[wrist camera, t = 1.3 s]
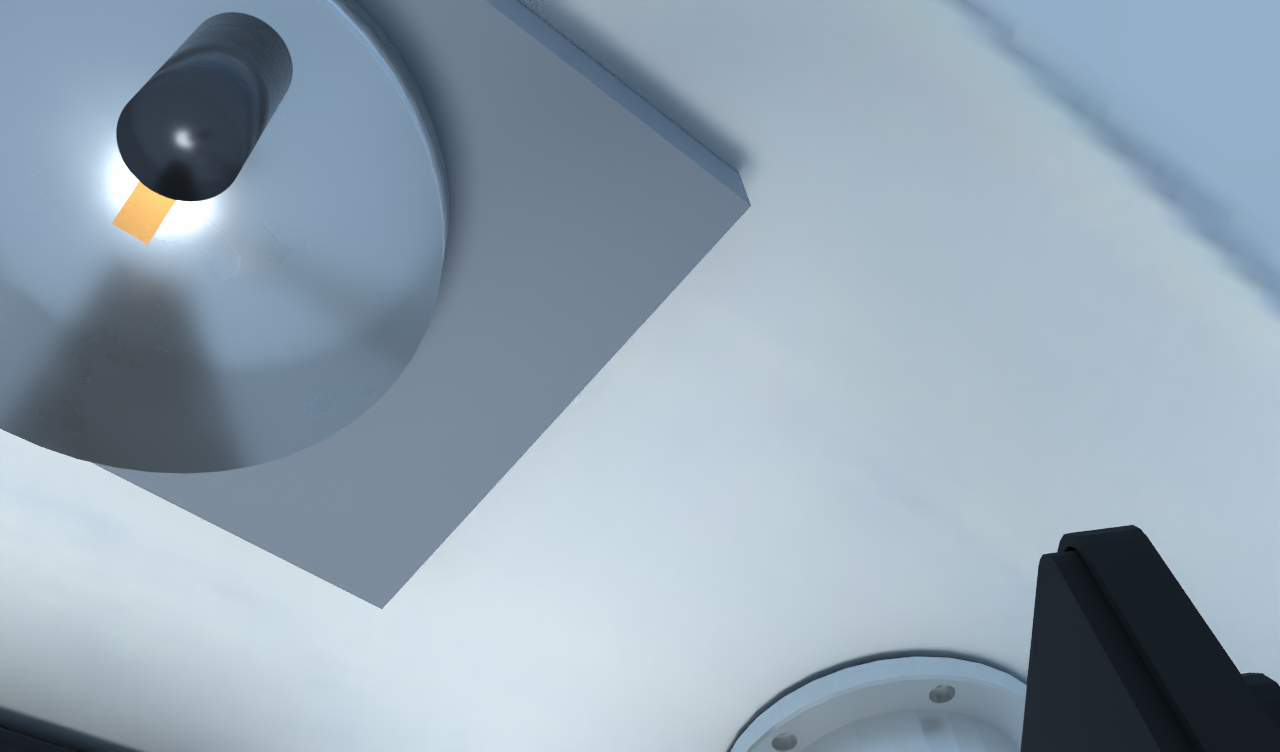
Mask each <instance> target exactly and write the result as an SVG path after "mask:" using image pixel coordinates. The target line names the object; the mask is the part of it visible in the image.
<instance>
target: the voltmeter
mask: <svg viewBox="0 0 1280 752" xmlns="http://www.w3.org/2000/svg"><path fill="white" fill-rule="evenodd" d="M0 752H77V751H74V750H71V749H67V748H64V747H61V746H58V745H55V744H51V743H48V742H45V741H42V740H39V739H35V738H32V737H29V736H26V735H22V734H19V733H16V732H13V731H10V730H6V729H3V728H0Z"/></svg>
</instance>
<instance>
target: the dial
mask: <svg viewBox="0 0 1280 752" xmlns="http://www.w3.org/2000/svg"><path fill="white" fill-rule="evenodd" d="M448 222H449V193H448V185H447V177H446V170H445V162H444V158H443V154H442V150H441V147H440V143H439V139H438V136H437V132H436V128H435V125H434V122H433V120H432V118H431V115H430V113H429V110H428V108H427V106H426V103H425V101H424V98H423V96H422V94H421V91H420V89H419V87H418V86H417V84H416V82H415V80H414V79H413V77H412V75H411V73H410V72H409V70H408V68H407V66H406V65H405V63H404V61H403V59H402V58H401V56H400V54H399V53H398V52H397V50H396V49H395V48H394V46H393V45H392V44H391V42H390V41H389V40H388V38H387V37H386V36H385V34H384V33H383V32H382V30H381V29H380V28H379V26H378V25H377V24H376V22H375V21H374V20H373V19H372V18H371V17H370V16H369V15H368V14H367V13H366V12H365V11H364V9H363V8H362V7H361V6H360V5H359V4H358V3H357V2H356V1H355V0H0V428H1V429H2V430H5V431H7V432H9V433H11V434H14V435H16V436H18V437H20V438H23V439H25V440H27V441H29V442H32V443H34V444H36V445H38V446H41V447H44V448H47V449H50V450H53V451H56V452H59V453H62V454H65V455H68V456H71V457H73V458H76V459H81V460H85V461H89V462H93V463H98V464H102V465H106V466H110V467H115V468H123V469H130V470H137V471H145V472H155V473H182V474H190V473H205V472H220V471H228V470H233V469H239V468H245V467H250V466H256V465H260V464H263V463H267V462H270V461H273V460H277V459H280V458H284V457H287V456H290V455H292V454H295V453H297V452H299V451H302V450H304V449H306V448H309V447H311V446H313V445H316V444H318V443H320V442H322V441H323V440H325V439H327V438H329V437H330V436H332V435H334V434H335V433H337V432H339V431H340V430H342V429H344V428H345V427H347V426H348V425H350V424H351V423H352V422H354V421H355V420H356V419H357V418H359V417H360V416H361V415H362V414H364V413H365V412H366V411H367V410H369V409H370V408H371V407H372V406H374V404H375V403H376V402H377V401H378V400H379V399H380V398H381V397H382V396H383V395H384V394H385V393H386V392H387V391H388V390H389V389H390V388H391V387H392V386H393V384H394V383H395V382H396V381H397V379H398V378H399V376H400V375H401V374H402V372H403V371H404V369H405V368H406V366H407V365H408V364H409V362H410V361H411V359H412V358H413V356H414V354H415V352H416V350H417V348H418V346H419V344H420V342H421V340H422V338H423V336H424V334H425V332H426V330H427V328H428V325H429V321H430V318H431V315H432V312H433V309H434V306H435V303H436V300H437V296H438V290H439V284H440V278H441V272H442V266H443V260H444V254H445V248H446V241H447V235H448Z"/></svg>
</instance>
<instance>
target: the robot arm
mask: <svg viewBox="0 0 1280 752" xmlns="http://www.w3.org/2000/svg"><path fill="white" fill-rule="evenodd" d="M730 752H1280V686H1279V685H1278V684H1277V683H1276V682H1275V681H1273V680H1272V679H1270V678H1269V677H1267V676H1265V675H1264V674H1262V673H1245V674H1240V672H1239V671H1238V669H1237V668H1236V666H1235V665H1234V663H1233V662H1232V660H1231V659H1230V657H1229V656H1228V655H1227V653H1226V652H1225V650H1224V649H1223V647H1222V646H1221V644H1220V643H1219V641H1218V640H1217V638H1216V637H1215V635H1214V634H1213V633H1212V631H1211V630H1210V628H1209V627H1208V625H1207V624H1206V622H1205V621H1204V619H1203V618H1202V616H1201V615H1200V613H1199V612H1198V611H1197V609H1196V608H1195V606H1194V605H1193V603H1192V602H1191V600H1190V599H1189V597H1188V596H1187V594H1186V593H1185V591H1184V590H1183V589H1182V587H1181V586H1180V584H1179V583H1178V581H1177V580H1176V578H1175V577H1174V575H1173V574H1172V572H1171V571H1170V570H1169V568H1168V567H1167V565H1166V564H1165V562H1164V561H1163V559H1162V558H1161V556H1160V555H1159V553H1158V552H1157V550H1156V549H1155V548H1154V546H1153V545H1152V543H1151V542H1150V540H1149V539H1148V537H1147V536H1146V535H1145V534H1144V533H1143V532H1142V530H1141V529H1140V528H1138V527H1136V526H1134V525H1129V526H1121V527H1114V528H1106V529H1098V530H1091V531H1083V532H1075V533H1068V534H1065V535H1063V537H1062V538H1061V540H1060V543H1059V548H1058V553H1050V554H1044V555H1042V557H1041V559H1040V562H1039V567H1038V577H1037V587H1036V598H1035V608H1034V618H1033V628H1032V638H1031V649H1030V659H1029V669H1028V679H1027V685H1026V684H1024V683H1022V682H1021V681H1019V680H1018V679H1016V678H1015V677H1013V676H1011V675H1010V674H1008V673H1005V672H1002V671H1000V670H997V669H994V668H992V667H989V666H986V665H984V664H981V663H975V662H970V661H965V660H959V659H954V658H944V657H915V656H914V657H905V658H895V659H885V660H878V661H874V662H870V663H865V664H861V665H857V666H853V667H849V668H845V669H842V670H840V671H837V672H834V673H832V674H829V675H827V676H824V677H821V678H819V679H816V680H814V681H812V682H810V683H808V684H806V685H804V686H803V687H801V688H799V689H797V690H795V691H794V692H792V693H790V694H788V695H786V696H785V697H783V698H781V699H780V700H779V701H778V702H776V703H775V704H774V705H772V706H771V707H770V708H769V709H767V710H766V711H765V712H763V713H762V714H761V715H760V716H758V717H757V718H756V719H755V720H754V721H753V723H752V724H751V725H750V726H749V727H748V728H747V729H746V730H745V731H744V732H743V734H742V735H741V736H740V737H739V738H738V739H737V741H736V743H735V744H734V746H733V748H732V750H731V751H730Z"/></svg>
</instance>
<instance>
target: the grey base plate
mask: <svg viewBox="0 0 1280 752" xmlns="http://www.w3.org/2000/svg"><path fill="white" fill-rule="evenodd" d="M355 1H356V2H357V3H358V4H359V5H360V6H361V7H362V8H363V9H364V11H365V12H366V13H367V14H368V15H369V16H370V17H371V18H372V19H373V20H374V21H375V22H376V24H377V25H378V26H379V28H380V29H381V30H382V32H383V33H384V34H385V36H386V37H387V38H388V40H389V41H390V42H391V44H392V45H393V46H394V48H395V49H396V50H397V52H398V53H399V54H400V56H401V58H402V59H403V61H404V63H405V65H406V66H407V68H408V70H409V72H410V73H411V75H412V77H413V79H414V80H415V82H416V84H417V86H418V87H419V89H420V91H421V94H422V96H423V98H424V101H425V103H426V106H427V108H428V110H429V113H430V115H431V118H432V120H433V122H434V125H435V128H436V132H437V136H438V139H439V143H440V147H441V150H442V154H443V158H444V162H445V170H446V177H447V185H448V193H449V222H448V235H447V241H446V248H445V254H444V260H443V266H442V272H441V278H440V284H439V290H438V296H437V300H436V303H435V306H434V309H433V312H432V315H431V318H430V321H429V325H428V328H427V330H426V332H425V334H424V336H423V338H422V340H421V342H420V344H419V346H418V348H417V350H416V352H415V354H414V356H413V358H412V359H411V361H410V362H409V364H408V365H407V366H406V368H405V369H404V371H403V372H402V374H401V375H400V376H399V378H398V379H397V381H396V382H395V383H394V384H393V386H392V387H391V388H390V389H389V390H388V391H387V392H386V393H385V394H384V395H383V396H382V397H381V398H380V399H379V400H378V401H377V402H376V403H375V404H374V406H372V407H371V408H370V409H369V410H367V411H366V412H365V413H364V414H362V415H361V416H360V417H359V418H357V419H356V420H355V421H354V422H352V423H351V424H350V425H348V426H347V427H345V428H344V429H342V430H340V431H339V432H337V433H335V434H334V435H332V436H330V437H329V438H327V439H325V440H323V441H322V442H320V443H318V444H316V445H313V446H311V447H309V448H306V449H304V450H302V451H299V452H297V453H295V454H292V455H290V456H287V457H284V458H280V459H277V460H273V461H270V462H267V463H263V464H260V465H256V466H250V467H245V468H239V469H233V470H228V471H220V472H205V473H190V474H182V473H155V472H145V471H137V470H130V469H123V468H115V467H110V466H106V465H102V464H98V463H94V464H96V465H98V466H99V467H101V468H103V469H105V470H107V471H109V472H111V473H113V474H115V475H117V476H119V477H121V478H123V479H125V480H127V481H129V482H131V483H133V484H135V485H137V486H139V487H141V488H143V489H145V490H147V491H149V492H151V493H153V494H155V495H157V496H159V497H161V498H163V499H165V500H167V501H169V502H171V503H173V504H175V505H177V506H179V507H181V508H183V509H185V510H187V511H189V512H191V513H193V514H195V515H197V516H199V517H201V518H202V519H204V520H206V521H208V522H210V523H212V524H214V525H216V526H218V527H220V528H222V529H224V530H226V531H228V532H230V533H232V534H234V535H236V536H238V537H240V538H242V539H244V540H246V541H248V542H250V543H252V544H254V545H256V546H258V547H260V548H262V549H264V550H266V551H268V552H270V553H272V554H274V555H276V556H278V557H280V558H282V559H284V560H286V561H288V562H290V563H292V564H294V565H296V566H298V567H300V568H302V569H304V570H305V571H307V572H309V573H311V574H313V575H315V576H317V577H319V578H321V579H323V580H325V581H327V582H329V583H331V584H333V585H335V586H337V587H339V588H341V589H343V590H345V591H347V592H349V593H351V594H353V595H355V596H357V597H359V598H361V599H363V600H365V601H367V602H369V603H371V604H373V605H375V606H377V607H379V608H381V609H382V608H383V607H384V606H385V605H386V604H387V603H388V602H389V601H390V600H391V599H392V598H393V596H394V595H395V594H396V593H397V592H398V591H399V590H400V589H401V588H402V587H403V585H404V584H405V583H406V582H407V581H408V580H409V579H410V578H411V577H412V576H413V575H414V573H415V572H416V571H417V570H418V569H419V568H420V567H421V566H422V565H423V564H424V563H425V561H426V560H427V559H428V558H429V557H430V556H431V555H432V554H433V553H434V552H435V550H436V549H437V548H438V547H439V546H440V545H441V544H442V543H443V542H444V541H445V540H446V538H447V537H448V536H449V535H450V534H451V533H452V532H453V531H454V530H455V529H456V528H457V526H458V525H459V524H460V523H461V522H462V521H463V520H464V519H465V518H466V517H467V515H468V514H469V513H470V512H471V511H472V510H473V509H474V508H475V507H476V506H477V505H478V503H479V502H480V501H481V500H482V499H483V498H484V497H485V496H486V495H487V494H488V493H489V491H490V490H491V489H492V488H493V487H494V486H495V485H496V484H497V483H498V482H499V480H500V479H501V478H502V477H503V476H504V475H505V474H506V473H507V472H508V471H509V470H510V468H511V467H512V466H513V465H514V464H515V463H516V462H517V461H518V460H519V459H520V458H521V456H522V455H523V454H524V453H525V452H526V451H527V450H528V449H529V448H530V447H531V445H532V444H533V443H534V442H535V441H536V440H537V439H538V438H539V437H540V436H541V435H542V433H543V432H544V431H545V430H546V429H547V428H548V427H549V426H550V425H551V424H552V422H553V421H554V420H555V419H556V418H557V417H558V416H559V415H560V414H561V413H562V412H563V410H564V409H565V408H566V407H567V406H568V405H569V404H570V403H571V402H572V401H573V400H574V398H575V397H576V396H577V395H578V394H579V393H580V392H581V391H582V390H583V389H584V387H585V386H586V385H587V384H588V383H589V382H590V381H591V380H592V379H593V378H594V377H595V375H596V374H597V373H598V372H599V371H600V370H601V369H602V368H603V367H604V366H605V365H606V363H607V362H608V361H609V360H610V359H611V358H612V357H613V356H614V355H615V354H616V352H617V351H618V350H619V349H620V348H621V347H622V346H623V345H624V344H625V343H626V342H627V340H628V339H629V338H630V337H631V336H632V335H633V334H634V333H635V332H636V331H637V330H638V328H639V327H640V326H641V325H642V324H643V323H644V322H645V321H646V320H647V319H648V317H649V316H650V315H651V314H652V313H653V312H654V311H655V310H656V309H657V308H658V307H659V305H660V304H661V303H662V302H663V301H664V300H665V299H666V298H667V297H668V296H669V295H670V293H671V292H672V291H673V290H674V289H675V288H676V287H677V286H678V285H679V284H680V282H681V281H682V280H683V279H684V278H685V277H686V276H687V275H688V274H689V273H690V272H691V270H692V269H693V268H694V267H695V266H696V265H697V264H698V263H699V262H700V261H701V259H702V258H703V257H704V256H705V255H706V254H707V253H708V252H709V251H710V250H711V249H712V247H713V246H714V245H715V244H716V243H717V242H718V241H719V240H720V239H721V238H722V237H723V235H724V234H725V233H726V232H727V231H728V230H729V229H730V228H731V227H732V226H733V224H734V223H735V222H736V221H737V220H738V219H739V218H740V217H741V216H742V215H743V214H744V212H745V211H746V210H747V209H748V208H749V207H750V206H751V205H750V202H749V199H748V196H747V194H746V191H745V188H744V186H743V183H742V180H741V178H740V175H739V173H738V172H736V171H735V170H734V169H733V168H731V167H730V166H729V165H727V164H726V163H725V162H724V161H722V160H721V159H720V158H719V157H717V156H716V155H715V154H713V153H712V152H711V151H710V150H708V149H707V148H706V147H704V146H703V145H702V144H701V143H699V142H698V141H697V140H696V139H694V138H693V137H692V136H690V135H689V134H688V133H687V132H685V131H684V130H683V129H681V128H680V127H679V126H678V125H676V124H675V123H674V122H673V121H671V120H670V119H669V118H667V117H666V116H665V115H664V114H662V113H661V112H660V111H658V110H657V109H656V108H655V107H653V106H652V105H651V104H650V103H648V102H647V101H646V100H644V99H643V98H642V97H641V96H639V95H638V94H637V93H635V92H634V91H633V90H632V89H630V88H629V87H628V86H627V85H625V84H624V83H623V82H621V81H620V80H619V79H618V78H616V77H615V76H614V75H612V74H611V73H610V72H609V71H607V70H606V69H605V68H603V67H602V66H601V65H600V64H598V63H597V62H596V61H595V60H593V59H592V58H591V57H589V56H588V55H587V54H586V53H584V52H583V51H582V50H580V49H579V48H578V47H577V46H575V45H574V44H573V43H572V42H570V41H569V40H568V39H566V38H565V37H564V36H563V35H561V34H560V33H559V32H557V31H556V30H555V29H554V28H552V27H551V26H550V25H549V24H547V23H546V22H545V21H543V20H542V19H541V18H540V17H538V16H537V15H536V14H534V13H533V12H532V11H531V10H529V9H528V8H527V7H526V6H524V5H523V4H522V3H520V2H519V1H518V0H355ZM92 463H93V462H92Z"/></svg>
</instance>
